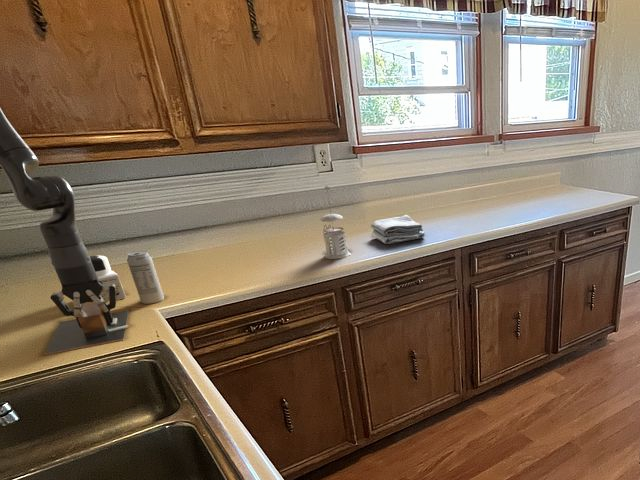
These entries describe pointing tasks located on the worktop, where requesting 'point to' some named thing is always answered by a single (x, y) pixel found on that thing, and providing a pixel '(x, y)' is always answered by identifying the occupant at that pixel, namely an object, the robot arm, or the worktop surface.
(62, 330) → the board
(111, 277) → the container
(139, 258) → the energy drink can
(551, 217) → the worktop surface
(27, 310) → the worktop surface
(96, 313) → the eraser
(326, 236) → the french press
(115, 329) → the smudge
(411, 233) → the towel
